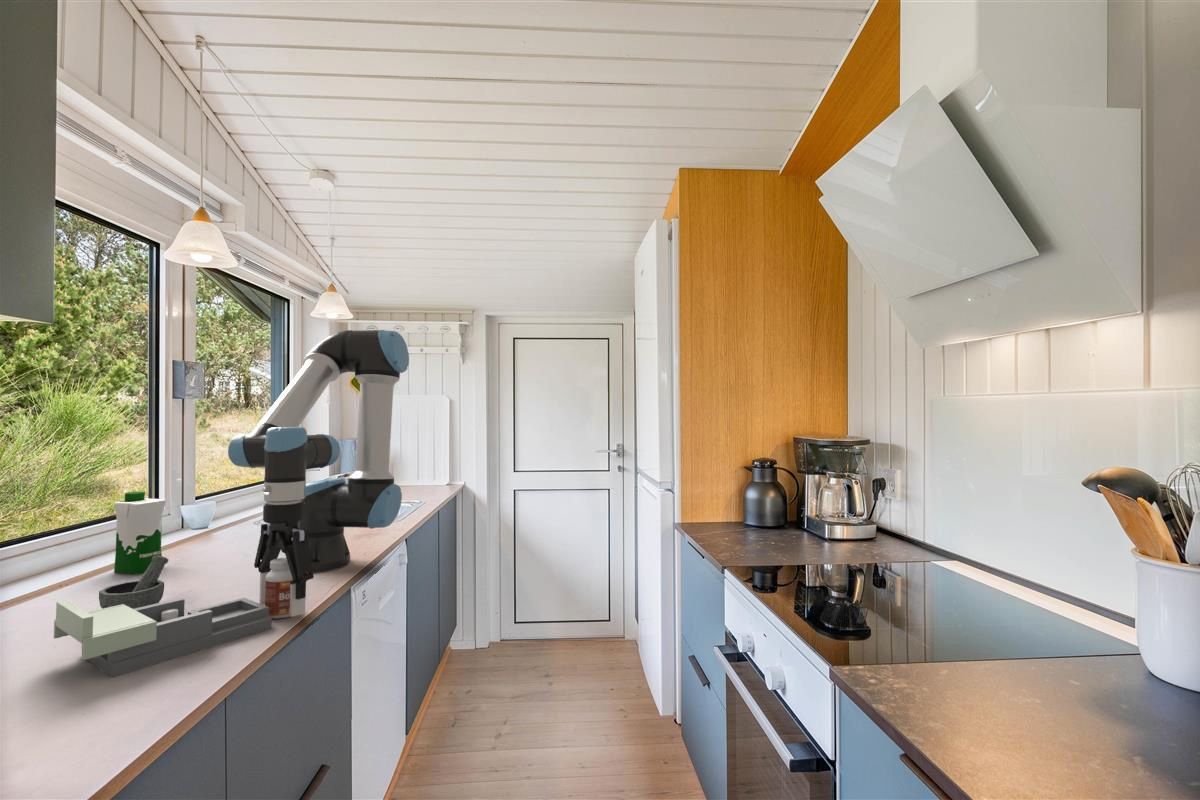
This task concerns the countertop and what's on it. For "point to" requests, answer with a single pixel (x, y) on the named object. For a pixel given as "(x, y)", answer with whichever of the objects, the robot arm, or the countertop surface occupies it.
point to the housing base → (186, 632)
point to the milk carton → (137, 532)
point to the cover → (103, 628)
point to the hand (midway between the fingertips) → (281, 608)
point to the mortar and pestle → (137, 588)
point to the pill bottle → (278, 589)
